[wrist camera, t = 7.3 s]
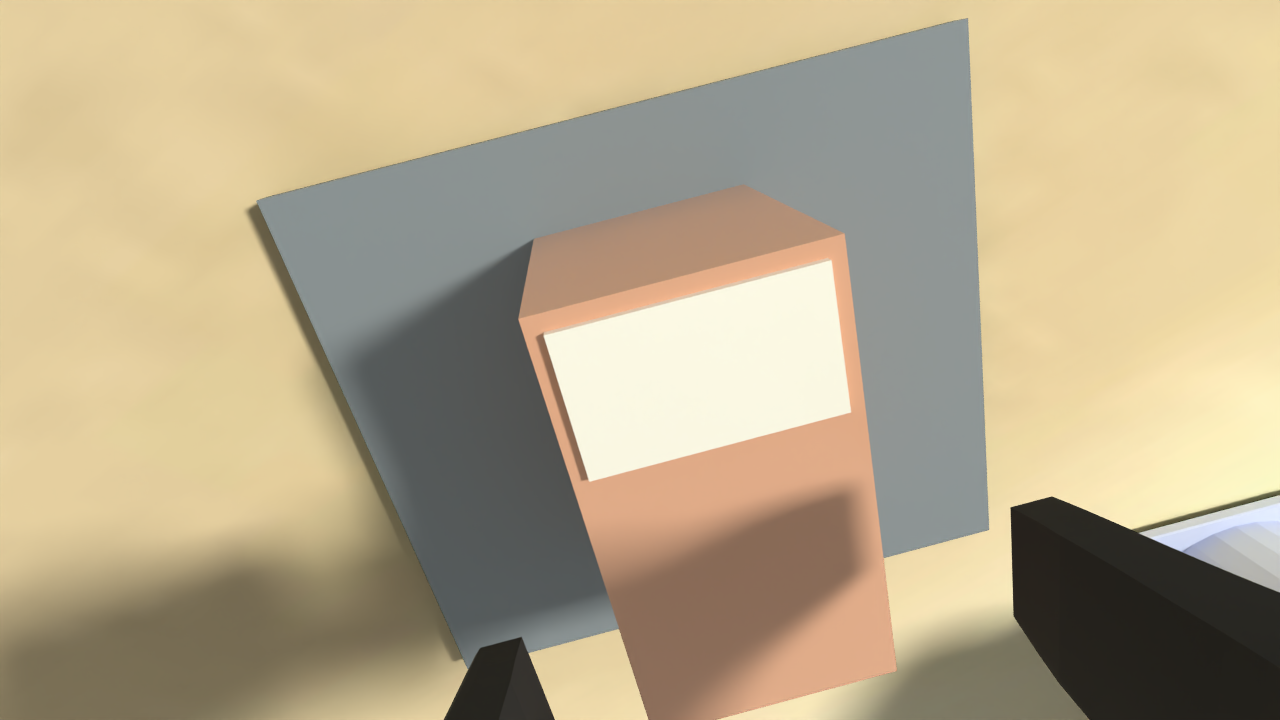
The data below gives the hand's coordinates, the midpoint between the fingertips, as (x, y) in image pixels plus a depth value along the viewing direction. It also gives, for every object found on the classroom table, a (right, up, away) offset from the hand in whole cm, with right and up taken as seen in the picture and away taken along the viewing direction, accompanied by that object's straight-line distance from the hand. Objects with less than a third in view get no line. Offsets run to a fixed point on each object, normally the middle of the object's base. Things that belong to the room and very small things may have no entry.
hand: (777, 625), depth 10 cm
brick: (-1, +3, +8) cm, 8 cm away
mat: (-1, +3, +8) cm, 9 cm away
